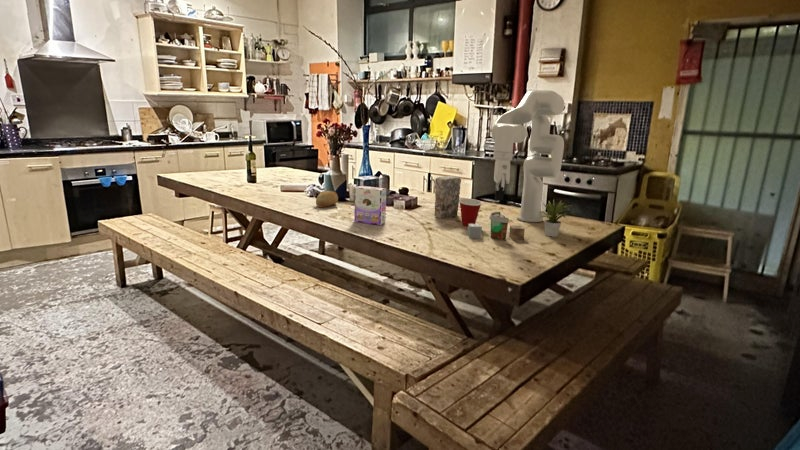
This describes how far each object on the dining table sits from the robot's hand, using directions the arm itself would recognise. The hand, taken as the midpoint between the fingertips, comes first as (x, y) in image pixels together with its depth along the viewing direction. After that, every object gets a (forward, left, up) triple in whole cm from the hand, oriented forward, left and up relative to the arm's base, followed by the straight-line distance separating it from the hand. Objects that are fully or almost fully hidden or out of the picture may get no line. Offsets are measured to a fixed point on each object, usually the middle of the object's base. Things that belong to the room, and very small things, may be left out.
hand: (498, 199), depth 192 cm
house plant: (-26, -6, -17) cm, 31 cm away
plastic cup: (+9, -18, -17) cm, 26 cm away
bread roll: (+80, -50, -17) cm, 96 cm away
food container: (0, 0, -17) cm, 17 cm away
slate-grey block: (+9, 0, -16) cm, 19 cm away
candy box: (+55, -17, -17) cm, 60 cm away
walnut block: (-9, 0, -16) cm, 19 cm away
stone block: (+18, -36, -17) cm, 43 cm away
